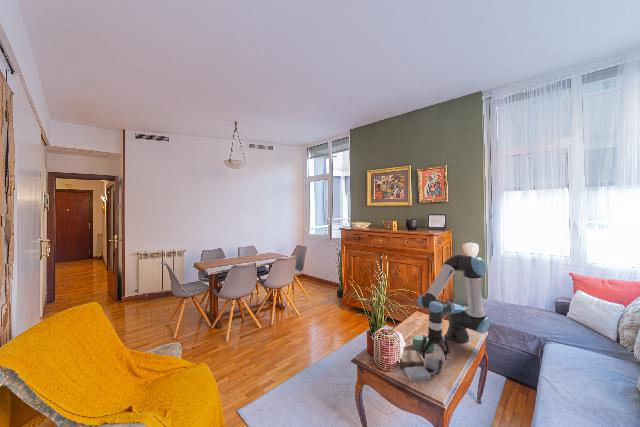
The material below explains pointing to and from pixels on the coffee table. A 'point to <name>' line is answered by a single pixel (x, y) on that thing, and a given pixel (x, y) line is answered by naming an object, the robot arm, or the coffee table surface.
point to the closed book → (417, 373)
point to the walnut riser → (410, 359)
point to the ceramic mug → (433, 364)
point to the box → (417, 342)
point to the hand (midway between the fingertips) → (433, 363)
